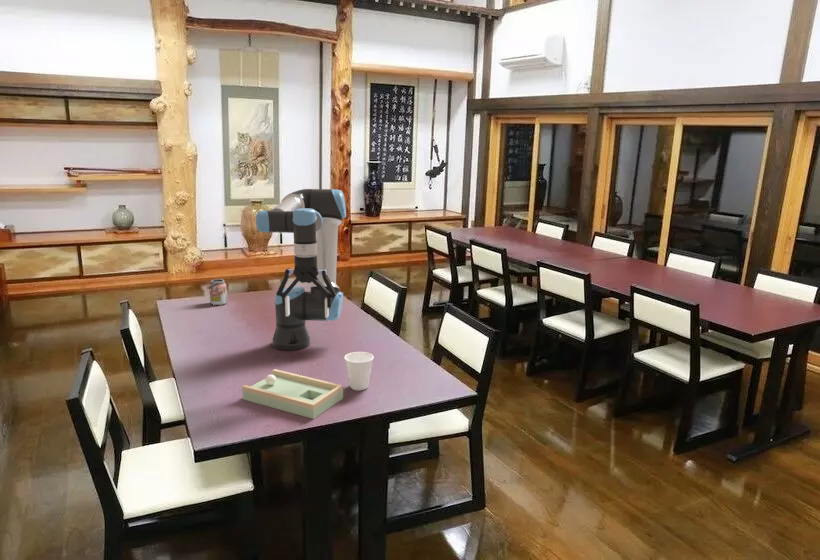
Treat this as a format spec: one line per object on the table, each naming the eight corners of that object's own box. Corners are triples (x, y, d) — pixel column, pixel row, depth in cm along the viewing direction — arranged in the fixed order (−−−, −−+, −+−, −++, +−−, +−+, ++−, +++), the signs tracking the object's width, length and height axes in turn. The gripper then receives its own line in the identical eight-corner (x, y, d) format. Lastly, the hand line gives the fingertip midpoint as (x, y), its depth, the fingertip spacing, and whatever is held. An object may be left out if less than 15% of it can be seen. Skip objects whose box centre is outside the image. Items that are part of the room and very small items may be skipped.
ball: (263, 385, 191) (262, 375, 190) (270, 381, 194) (269, 372, 193) (271, 387, 189) (271, 377, 188) (278, 383, 192) (278, 374, 191)
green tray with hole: (243, 399, 187) (242, 386, 186) (275, 381, 201) (274, 369, 200) (313, 418, 175) (313, 405, 174) (343, 398, 189) (342, 385, 188)
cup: (345, 381, 202) (344, 351, 199) (373, 380, 203) (373, 351, 200) (344, 393, 193) (343, 362, 190) (374, 393, 193) (374, 362, 191)
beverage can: (205, 305, 287) (203, 282, 284) (213, 300, 295) (211, 278, 292) (222, 306, 286) (221, 283, 283) (230, 301, 294) (229, 279, 291)
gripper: (265, 256, 191) (268, 318, 196) (340, 258, 189) (341, 320, 194) (272, 252, 198) (274, 311, 203) (344, 254, 197) (345, 313, 202)
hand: (307, 316), depth 199 cm, fingers open, 13 cm apart
